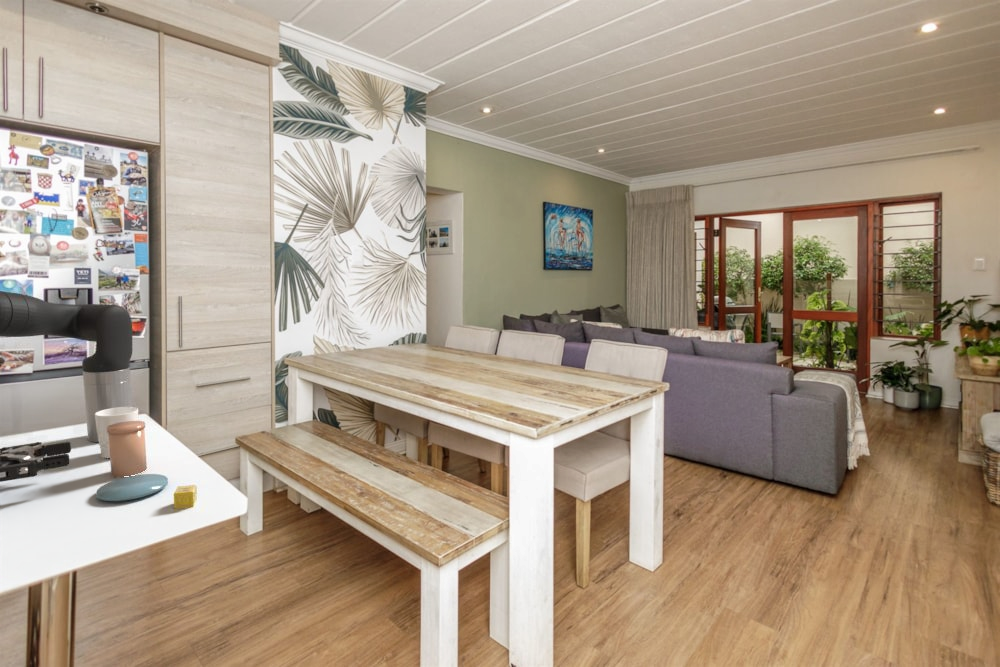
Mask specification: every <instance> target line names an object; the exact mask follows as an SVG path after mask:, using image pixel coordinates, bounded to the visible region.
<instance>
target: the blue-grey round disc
mask: <svg viewBox="0 0 1000 667" xmlns="http://www.w3.org/2000/svg"><path fill="white" fill-rule="evenodd" d="M168 479H169V478H168V477H167V476H166V475H164V474H159V473H145V474H143V473H141V474H138V475H135V476H129V477H122V478H117V479H114V480H112V481H109V482H107V483H105V484H103V485H102V486H100V487H99V488H98V489H97V490H96V492H95V493H96V497H97V499H98V500H101V501H105V502H106V501H107V502H121V501H129V500H130V501H131V500H135V499H139V498H143V497H147V496H150V495H153V494H155V493H158V492H159V491H161V490H163V489H165V487H166V486H168V483H169V480H168Z"/></svg>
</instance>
